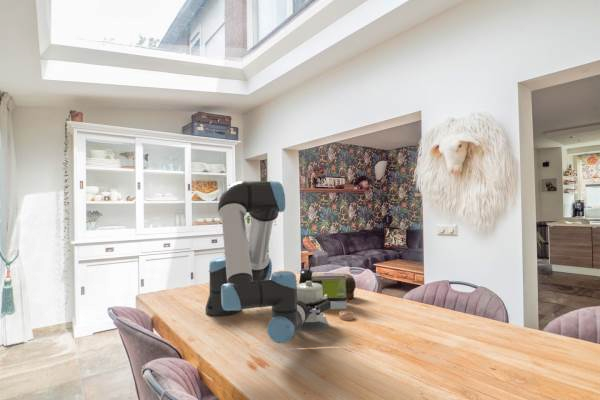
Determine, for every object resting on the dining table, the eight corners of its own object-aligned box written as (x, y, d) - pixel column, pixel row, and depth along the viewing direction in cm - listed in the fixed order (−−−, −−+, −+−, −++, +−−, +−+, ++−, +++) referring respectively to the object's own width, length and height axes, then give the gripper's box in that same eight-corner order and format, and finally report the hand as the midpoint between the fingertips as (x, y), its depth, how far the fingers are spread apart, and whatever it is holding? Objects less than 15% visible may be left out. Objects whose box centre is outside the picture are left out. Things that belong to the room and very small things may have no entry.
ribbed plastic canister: (297, 322, 120) (296, 284, 120) (296, 313, 130) (295, 278, 130) (324, 321, 121) (323, 284, 121) (320, 313, 130) (320, 278, 131)
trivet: (291, 332, 118) (291, 331, 118) (290, 319, 132) (290, 318, 132) (330, 330, 119) (330, 329, 119) (325, 318, 133) (325, 317, 133)
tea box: (345, 303, 153) (344, 271, 153) (346, 310, 143) (346, 275, 143) (313, 303, 154) (312, 271, 154) (312, 309, 144) (311, 275, 144)
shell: (331, 300, 158) (330, 275, 158) (335, 295, 168) (335, 271, 168) (354, 302, 154) (353, 276, 155) (357, 296, 165) (356, 272, 165)
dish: (340, 321, 128) (340, 314, 128) (338, 316, 134) (338, 310, 134) (354, 321, 128) (354, 314, 128) (351, 316, 134) (351, 310, 134)
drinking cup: (291, 293, 162) (300, 257, 156) (305, 293, 165) (315, 257, 160) (297, 303, 155) (307, 265, 150) (311, 302, 158) (322, 265, 153)
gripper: (262, 323, 111) (284, 304, 133) (329, 329, 105) (341, 308, 126) (262, 301, 112) (284, 285, 133) (329, 305, 105) (341, 289, 126)
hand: (312, 297), depth 129 cm, fingers closed on ribbed plastic canister, 10 cm apart
